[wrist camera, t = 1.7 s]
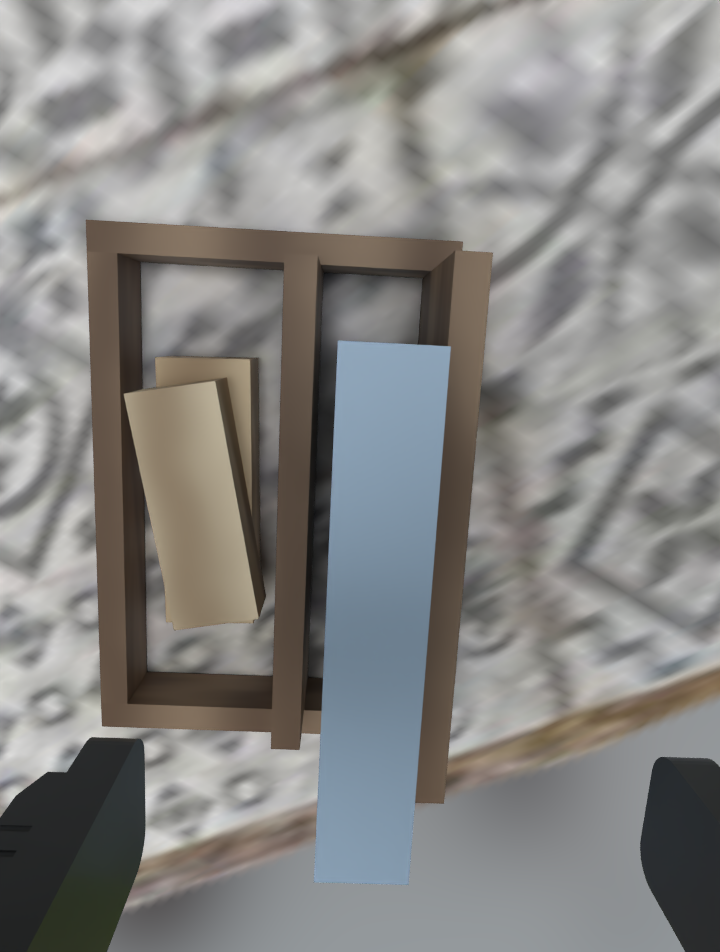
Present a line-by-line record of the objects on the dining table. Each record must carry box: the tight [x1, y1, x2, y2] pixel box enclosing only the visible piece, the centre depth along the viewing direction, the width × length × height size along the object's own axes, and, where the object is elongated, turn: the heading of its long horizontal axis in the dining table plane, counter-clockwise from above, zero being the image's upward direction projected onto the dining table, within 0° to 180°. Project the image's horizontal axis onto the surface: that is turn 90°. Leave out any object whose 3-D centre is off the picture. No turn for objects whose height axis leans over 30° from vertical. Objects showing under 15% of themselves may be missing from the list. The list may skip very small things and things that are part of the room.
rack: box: [86, 220, 493, 804], centre depth 27 cm, size 15×22×9 cm
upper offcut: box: [124, 377, 266, 630], centre depth 27 cm, size 4×10×2 cm, turn 8°
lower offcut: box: [155, 356, 260, 623], centre depth 30 cm, size 4×12×3 cm, turn 179°
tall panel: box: [314, 340, 451, 885], centre depth 24 cm, size 2×14×16 cm, turn 177°
